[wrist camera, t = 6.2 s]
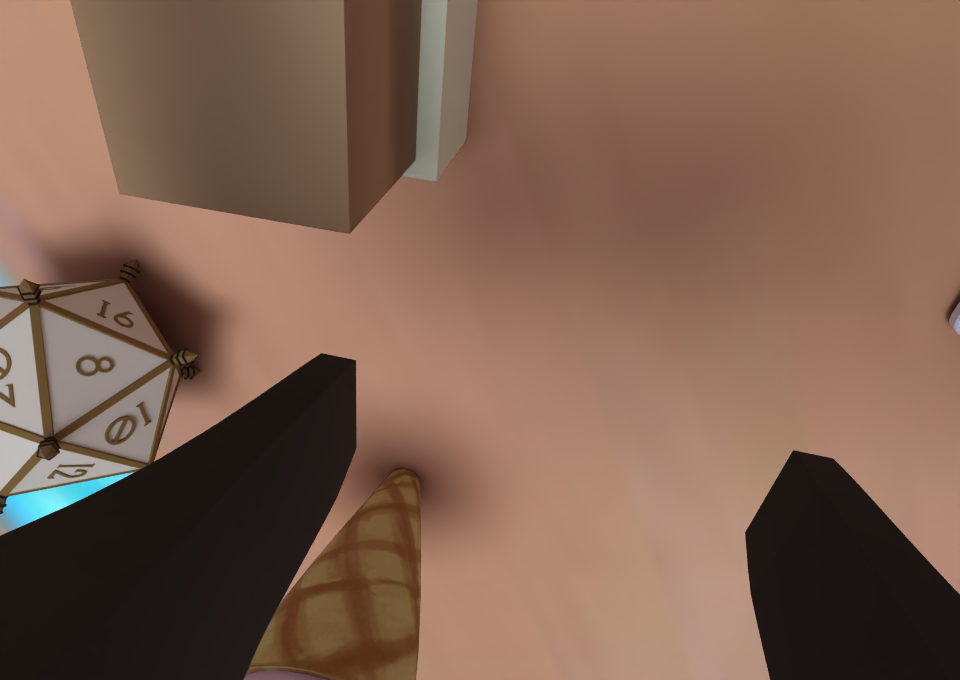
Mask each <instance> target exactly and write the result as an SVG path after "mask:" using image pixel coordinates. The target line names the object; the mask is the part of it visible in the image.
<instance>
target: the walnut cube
mask: <svg viewBox="0 0 960 680" xmlns="http://www.w3.org/2000/svg"><path fill="white" fill-rule="evenodd" d="M70 1H71V5H72V9H73V13H74V17H75V21H76V25H77V29H78V33H79V37H80V41H81V44H82V48H83V52H84V56H85V60H86V64H87V68H88V72H89V76H90V80H91V84H92V88H93V92H94V96H95V99H96V103H97V107H98V111H99V115H100V119H101V123H102V127H103V131H104V135H105V139H106V143H107V147H108V150H109V154H110V158H111V162H112V166H113V170H114V174H115V178H116V182H117V186H118V190H119V194H123V195H128V196H134V197H140V198H146V199H151V200H157V201H163V202H169V203H174V204H180V205H186V206H192V207H198V208H203V209H209V210H215V211H221V212H226V213H232V214H238V215H244V216H250V217H255V218H261V219H267V220H273V221H278V222H284V223H290V224H296V225H302V226H307V227H313V228H319V229H325V230H330V231H336V232H342V233H348V234H350V233H351V232H352V231H353V230H354V228H355V227H356V226H357V225H358V224H359V223H360V222H361V221H362V219H363V218H364V217H365V216H366V215H367V214H368V213H369V212H370V211H371V209H372V208H373V207H374V206H375V205H376V204H377V203H378V202H379V200H380V199H381V198H382V197H383V196H384V195H385V194H386V193H387V192H388V190H389V189H390V188H391V187H392V186H393V185H394V184H395V183H396V181H397V180H398V179H399V178H400V177H401V176H402V175H403V174H404V173H405V171H406V170H407V169H408V168H409V167H410V166H411V165H412V164H413V162H414V161H415V160H416V135H417V110H418V85H419V60H420V34H421V9H422V0H70Z"/></svg>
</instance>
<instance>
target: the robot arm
mask: <svg viewBox="0 0 960 680" xmlns="http://www.w3.org/2000/svg"><path fill="white" fill-rule="evenodd" d="M949 323H950V326H951V327H952V328H953V329H954V330H955V331H956V332H957V334H958V335H960V302H959V304H958V305H957V307H956V308H955V310H954V311H953V313H952V314H951V317H950V319H949ZM355 450H356V360H352V359H347V358H342V357H337V356H332V355H327V354H322V353H321V354H320V355H318V356H317V357H315V358H314V359H312V360H311V361H309V362H308V363H306V364H305V365H303V366H302V367H300V368H299V369H297V370H296V371H294V372H293V373H291V374H290V375H289V376H287V377H286V378H284V379H283V380H281V381H280V382H279V383H277V384H276V385H274V386H273V387H271V388H270V389H268V390H267V391H266V392H264V393H263V394H261V395H260V396H258V397H257V398H255V399H254V400H252V401H251V402H249V403H248V404H246V405H245V406H243V407H242V408H240V409H239V410H237V411H236V412H234V413H233V414H231V415H230V416H228V417H227V418H225V419H224V420H222V421H221V422H219V423H218V424H216V425H214V426H213V427H211V428H210V429H208V430H206V431H205V432H203V433H202V434H200V435H198V436H197V437H195V438H193V439H192V440H190V441H188V442H187V443H185V444H183V445H182V446H180V447H178V448H177V449H175V450H173V451H172V452H170V453H168V454H167V455H165V456H163V457H162V458H160V459H158V460H156V461H155V462H153V463H151V464H149V465H147V466H146V467H144V468H142V469H140V470H138V471H136V472H135V473H133V474H131V475H129V476H127V477H125V478H123V479H121V480H119V481H117V482H115V483H113V484H111V485H109V486H107V487H105V488H103V489H102V490H100V491H98V492H96V493H94V494H92V495H90V496H88V497H86V498H84V499H82V500H79V501H77V502H75V503H73V504H71V505H69V506H67V507H65V508H62V509H60V510H58V511H55V512H53V513H51V514H49V515H46V516H44V517H42V518H40V519H37V520H35V521H33V522H31V523H28V524H26V525H24V526H21V527H19V528H17V529H15V530H12V531H10V532H8V533H6V534H3V535H1V536H0V680H244V678H245V675H246V673H247V671H248V668H249V666H250V664H251V661H252V659H253V657H254V654H255V652H256V650H257V648H258V645H259V643H260V641H261V639H262V637H263V635H264V633H265V631H266V629H267V627H268V625H269V623H270V621H271V619H272V617H273V615H274V613H275V611H276V610H277V608H278V606H279V604H280V602H281V600H282V599H283V597H284V595H285V593H286V591H287V589H288V588H289V586H290V584H291V582H292V580H293V578H294V577H295V575H296V573H297V571H298V569H299V567H300V566H301V564H302V562H303V560H304V558H305V556H306V555H307V553H308V551H309V549H310V547H311V545H312V544H313V542H314V540H315V538H316V536H317V534H318V532H319V531H320V529H321V527H322V525H323V523H324V521H325V519H326V517H327V516H328V514H329V512H330V510H331V508H332V506H333V504H334V502H335V500H336V498H337V496H338V493H339V491H340V488H341V486H342V483H343V481H344V479H345V476H346V473H347V471H348V468H349V466H350V463H351V460H352V458H353V455H354V452H355ZM745 535H746V549H747V562H748V572H749V581H750V590H751V597H752V601H753V606H754V611H755V615H756V620H757V624H758V629H759V633H760V638H761V642H762V646H763V651H764V655H765V659H766V664H767V668H768V672H769V676H770V680H960V594H959V593H958V592H957V591H956V590H955V589H954V588H953V587H952V586H951V585H950V584H949V583H948V582H947V581H946V580H945V579H944V578H943V576H942V575H941V574H940V573H939V572H938V571H937V570H936V569H935V568H934V567H933V566H932V565H931V564H930V563H929V561H928V560H927V559H926V558H925V557H924V556H923V555H922V554H921V553H920V552H919V551H918V550H917V548H916V547H915V546H914V545H913V544H912V543H911V542H910V541H909V540H908V539H907V537H906V536H905V535H904V534H903V533H902V532H901V531H900V530H899V529H898V528H897V526H896V525H895V524H894V523H893V522H892V521H891V520H890V519H889V518H888V517H887V515H886V514H885V513H884V512H883V511H882V510H881V509H880V508H879V507H878V505H877V504H876V503H875V502H874V501H873V500H872V499H871V498H870V497H869V496H868V495H867V493H866V492H865V491H864V490H863V489H862V488H861V487H860V486H859V485H858V484H857V483H856V481H855V480H854V479H853V478H852V477H851V476H850V475H849V474H848V473H847V472H846V471H845V470H844V469H843V468H842V467H841V466H840V465H839V464H838V463H837V462H836V461H835V460H834V459H833V458H828V457H823V456H818V455H814V454H809V453H804V452H799V451H794V450H793V452H792V453H791V455H790V457H789V459H788V460H787V462H786V464H785V465H784V467H783V469H782V471H781V472H780V474H779V476H778V477H777V479H776V481H775V482H774V484H773V486H772V488H771V489H770V491H769V493H768V494H767V496H766V498H765V500H764V501H763V503H762V505H761V506H760V508H759V510H758V512H757V513H756V515H755V517H754V518H753V520H752V522H751V524H750V525H749V527H748V529H747V530H746V532H745Z"/></svg>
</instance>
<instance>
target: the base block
mask: <svg viewBox="0 0 960 680" xmlns="http://www.w3.org/2000/svg"><path fill="white" fill-rule="evenodd" d="M477 6H478V0H422V9H421V34H420V60H419V85H418V110H417V135H416V160H415V161H414V162H413V164H412V165H411V166H410V167H409V168H408V169H407V170H406V171H405V173H404V174H403V175H402V176H404V177H410V178H416V179H423V180H429V181H435V182H437V180H438V179H439V178H440V176H441V175H442V173H443V172H444V171H445V169H446V168H447V166H448V165H449V163H450V162H451V161H452V159H453V158H454V156H455V155H456V154H457V152H458V151H459V149H460V148H461V147H462V145H463V144H464V142H465V141H466V134H467V123H468V111H469V99H470V88H471V76H472V64H473V53H474V41H475V29H476V17H477Z"/></svg>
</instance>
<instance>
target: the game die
mask: <svg viewBox="0 0 960 680" xmlns="http://www.w3.org/2000/svg"><path fill="white" fill-rule="evenodd" d="M123 266H124V268H123V270H121V277H120V278H118V279H104V280H90V281H76V282H62V283H48V284H35V283H33V282H30V281H28V280H26V279H24V280H23V281H22V283H21V284H20V285H19V286H6V287H0V514H2V513H3V511H2V510H3V508H4V507H5V506H6V505H7V504H5V503H6V498H7V497H8V496H12V495H18V494H23V493H28V492H33V491H38V490H43V489H48V488H53V487H59V486H64V485H69V484H74V483H79V482H84V481H89V480H94V479H100V478H105V477H110V476H115V475H120V474H125V473H130V472H135V471H138V470H140V469H142V468H144V467H146V466H147V465H149V464H151V463H153V462H154V459H155V456H156V453H157V450H158V447H159V444H160V441H161V437H162V434H163V431H164V428H165V425H166V422H167V419H168V415H169V412H170V409H171V406H172V403H173V400H174V397H175V393H176V390H177V387H178V384H179V381H180V378H181V377H182V378H184V379H187V378H190V379H192V378H193V377H194V376H195V375H196V374H198V373H199V372H200V371H198V370H197V369H195V367H192V366H188V367H183V368H181V369H180V367H179V365H180V366H182V365H184V364H186V365H189V364H191V363H192V362H193V360H194V359H195V358H196V357H197V356H198V354H195V353H192V352H191V351H189V350H187V349H184V350H183V351H180V350H178V351H177V353H176V354H174V353H173V352H172V350H171V349H170V347H169V345H168V344H167V342H166V341H165V339H164V338H163V336H162V334H161V333H160V331H159V330H158V328H157V326H156V325H155V323H154V322H153V320H152V319H151V317H150V315H149V314H148V312H147V311H146V309H145V307H144V306H143V304H142V303H141V301H140V299H139V298H138V296H137V295H136V293H135V292H134V290H133V288H132V287H131V285H130V284H129V283H130V281H131V280H132V279H133V278H136V276H135V275H136V274H137V273H139V271H138V268H137V261H136V260H134V261H132V262H130V263H128V264H126V265H125V264H124V265H123Z"/></svg>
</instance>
